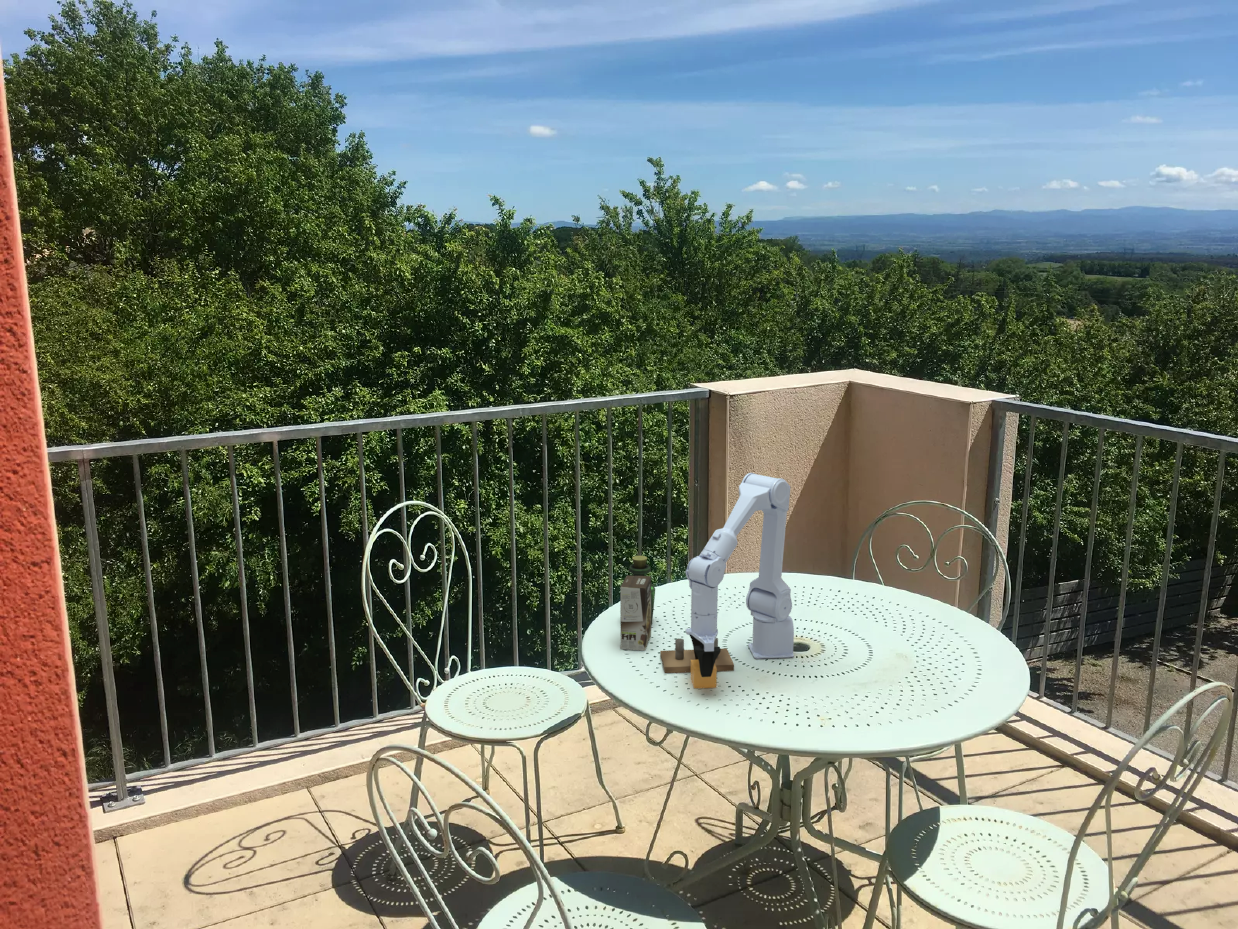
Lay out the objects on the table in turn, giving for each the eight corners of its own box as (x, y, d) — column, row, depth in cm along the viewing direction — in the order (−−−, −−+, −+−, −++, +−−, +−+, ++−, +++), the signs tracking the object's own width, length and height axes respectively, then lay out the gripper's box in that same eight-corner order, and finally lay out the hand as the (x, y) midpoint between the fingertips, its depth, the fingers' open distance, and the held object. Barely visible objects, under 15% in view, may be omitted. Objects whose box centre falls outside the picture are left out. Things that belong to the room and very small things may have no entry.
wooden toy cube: (712, 677, 200) (712, 659, 199) (716, 687, 195) (716, 668, 194) (690, 678, 199) (690, 659, 198) (693, 688, 194) (694, 669, 193)
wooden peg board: (726, 654, 212) (727, 630, 210) (734, 670, 203) (734, 646, 202) (660, 656, 211) (660, 633, 209) (664, 673, 202) (664, 648, 201)
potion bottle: (618, 621, 232) (618, 555, 228) (646, 615, 236) (645, 551, 232) (633, 632, 225) (633, 564, 221) (661, 626, 229) (661, 560, 225)
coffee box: (645, 651, 214) (645, 588, 210) (619, 649, 215) (619, 586, 211) (652, 636, 222) (652, 575, 219) (627, 634, 224) (626, 574, 220)
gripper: (681, 599, 200) (680, 655, 203) (691, 624, 186) (690, 683, 189) (712, 598, 201) (711, 654, 203) (724, 623, 186) (722, 682, 189)
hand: (703, 668), depth 196 cm, fingers open, 7 cm apart
